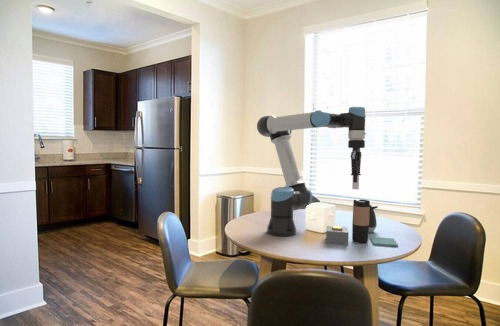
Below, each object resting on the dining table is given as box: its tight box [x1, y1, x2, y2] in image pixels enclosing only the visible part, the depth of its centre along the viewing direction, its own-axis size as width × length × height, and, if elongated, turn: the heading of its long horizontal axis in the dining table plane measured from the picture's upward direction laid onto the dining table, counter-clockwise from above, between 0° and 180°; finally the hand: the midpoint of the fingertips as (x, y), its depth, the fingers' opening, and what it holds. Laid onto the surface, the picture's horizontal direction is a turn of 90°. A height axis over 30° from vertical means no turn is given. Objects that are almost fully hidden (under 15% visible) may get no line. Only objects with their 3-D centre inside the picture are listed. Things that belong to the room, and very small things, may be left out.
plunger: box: [332, 225, 343, 231], centre depth 168 cm, size 4×4×6 cm
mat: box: [370, 236, 399, 248], centre depth 167 cm, size 11×11×1 cm
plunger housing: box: [325, 225, 349, 246], centre depth 168 cm, size 10×10×6 cm
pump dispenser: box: [368, 204, 378, 234], centre depth 186 cm, size 10×10×15 cm
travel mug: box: [351, 199, 371, 245], centre depth 168 cm, size 8×8×20 cm
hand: (355, 189), depth 166 cm, fingers closed
